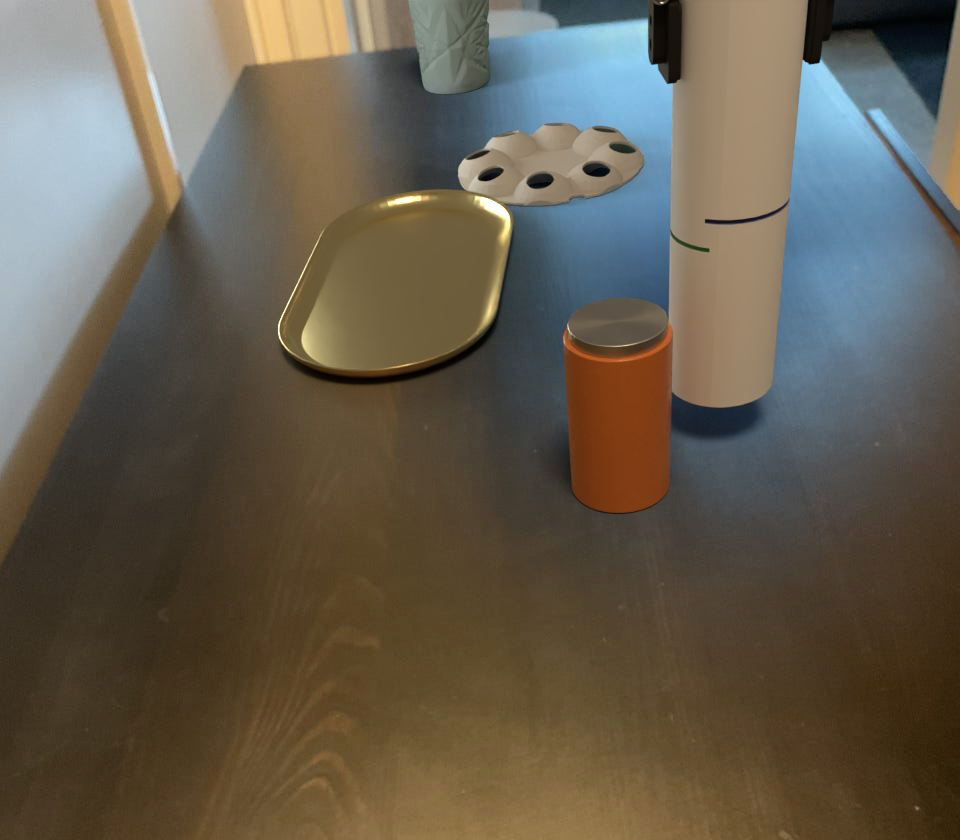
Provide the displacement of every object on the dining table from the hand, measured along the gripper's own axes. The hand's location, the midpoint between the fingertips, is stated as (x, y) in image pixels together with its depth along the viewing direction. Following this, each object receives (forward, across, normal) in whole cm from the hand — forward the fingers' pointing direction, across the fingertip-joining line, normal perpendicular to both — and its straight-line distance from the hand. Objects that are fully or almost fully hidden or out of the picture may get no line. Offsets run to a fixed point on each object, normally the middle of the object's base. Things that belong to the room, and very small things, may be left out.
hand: (737, 64), depth 61 cm
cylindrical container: (+20, 0, 0) cm, 20 cm away
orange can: (+24, +8, +6) cm, 26 cm away
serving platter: (+24, +22, -28) cm, 43 cm away
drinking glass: (+24, +14, -83) cm, 87 cm away
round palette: (+24, +6, -51) cm, 57 cm away
